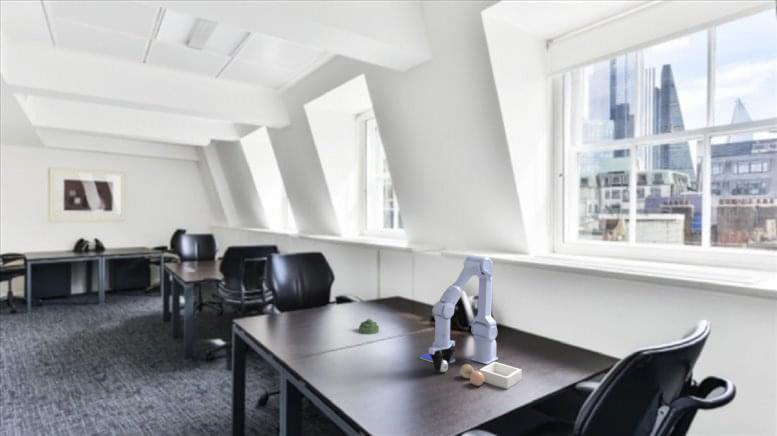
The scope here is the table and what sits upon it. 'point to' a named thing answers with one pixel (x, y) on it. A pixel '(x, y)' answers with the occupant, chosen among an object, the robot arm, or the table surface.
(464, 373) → the light oak ball
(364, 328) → the decorative artifact
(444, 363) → the steel ball
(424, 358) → the hard drive
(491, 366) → the off-white bin
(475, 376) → the terracotta ball
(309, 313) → the table surface
